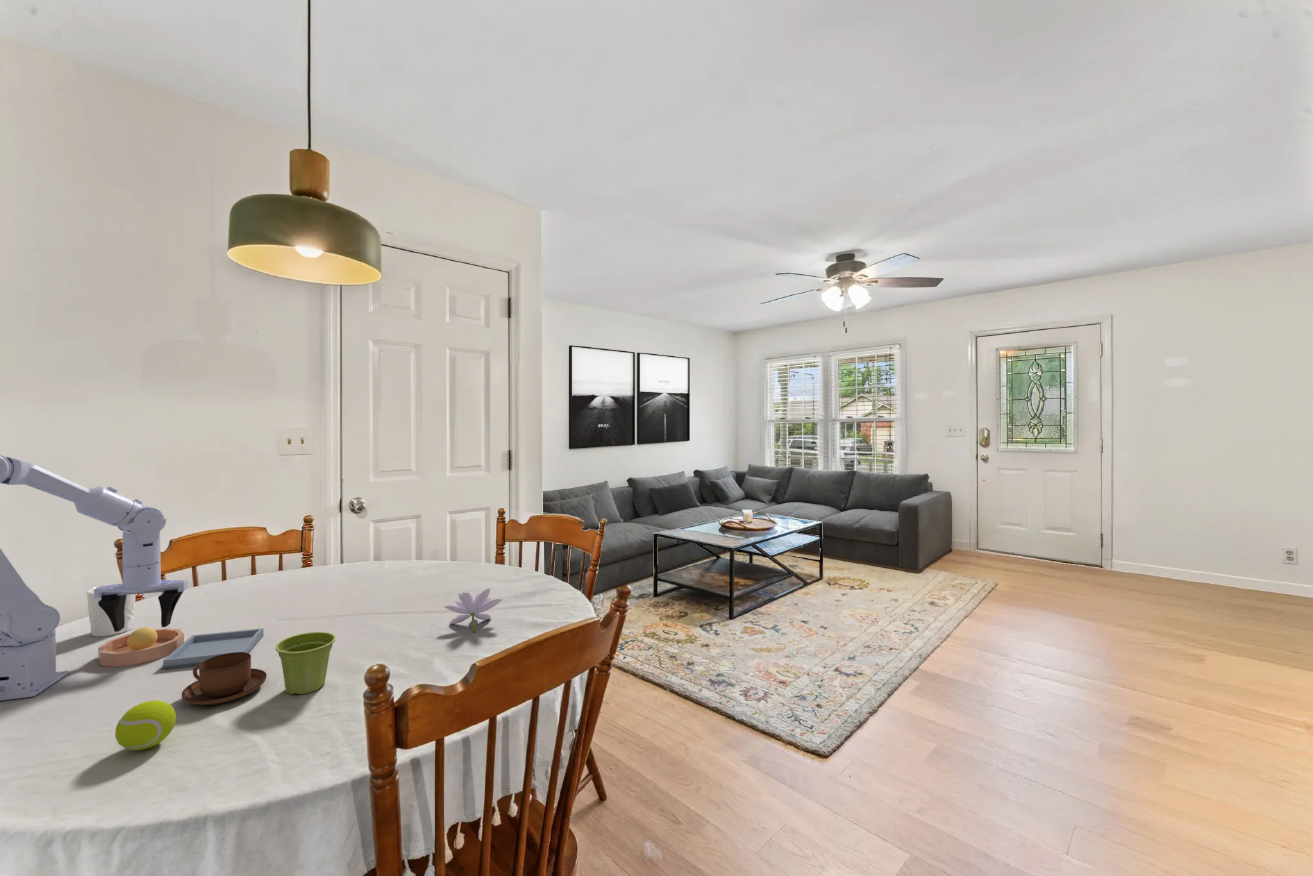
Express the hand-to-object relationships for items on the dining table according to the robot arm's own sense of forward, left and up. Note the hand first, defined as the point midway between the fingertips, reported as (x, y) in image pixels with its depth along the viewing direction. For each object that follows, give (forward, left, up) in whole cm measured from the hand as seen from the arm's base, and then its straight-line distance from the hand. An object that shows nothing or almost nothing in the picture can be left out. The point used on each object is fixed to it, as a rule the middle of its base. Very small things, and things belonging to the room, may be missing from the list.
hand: (142, 627), depth 112 cm
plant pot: (-27, -35, -6) cm, 45 cm away
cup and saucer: (-25, -22, -6) cm, 34 cm away
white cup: (+16, +12, -6) cm, 21 cm away
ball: (0, 0, -2) cm, 2 cm away
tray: (-4, -14, -5) cm, 15 cm away
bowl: (0, 0, -5) cm, 5 cm away
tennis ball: (-40, -17, -6) cm, 44 cm away
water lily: (-5, -66, -6) cm, 66 cm away
